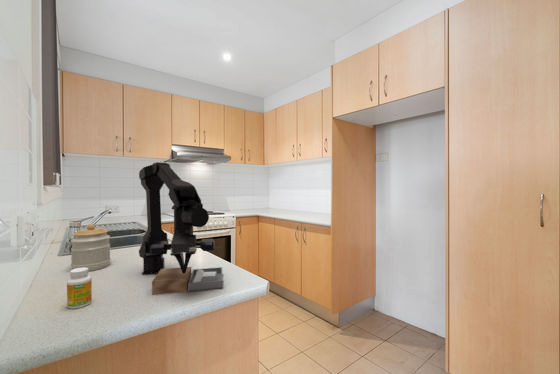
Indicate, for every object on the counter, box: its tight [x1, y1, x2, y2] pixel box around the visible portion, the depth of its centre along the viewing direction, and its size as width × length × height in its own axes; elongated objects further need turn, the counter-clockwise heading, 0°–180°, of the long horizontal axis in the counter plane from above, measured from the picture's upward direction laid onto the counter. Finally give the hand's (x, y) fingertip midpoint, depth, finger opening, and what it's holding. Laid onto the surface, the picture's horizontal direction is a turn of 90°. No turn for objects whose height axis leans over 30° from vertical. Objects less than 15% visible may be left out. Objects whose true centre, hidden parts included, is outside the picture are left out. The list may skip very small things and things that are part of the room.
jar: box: [70, 223, 112, 272], centre depth 104 cm, size 13×13×18 cm
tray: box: [187, 266, 224, 293], centre depth 87 cm, size 10×14×2 cm
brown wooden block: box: [151, 266, 192, 296], centre depth 84 cm, size 10×12×4 cm
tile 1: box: [201, 271, 217, 282], centre depth 88 cm, size 4×4×2 cm
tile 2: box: [192, 268, 204, 283], centre depth 83 cm, size 4×4×2 cm
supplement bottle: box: [66, 268, 93, 310], centre depth 71 cm, size 5×5×10 cm
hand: (184, 272), depth 82 cm, fingers closed
